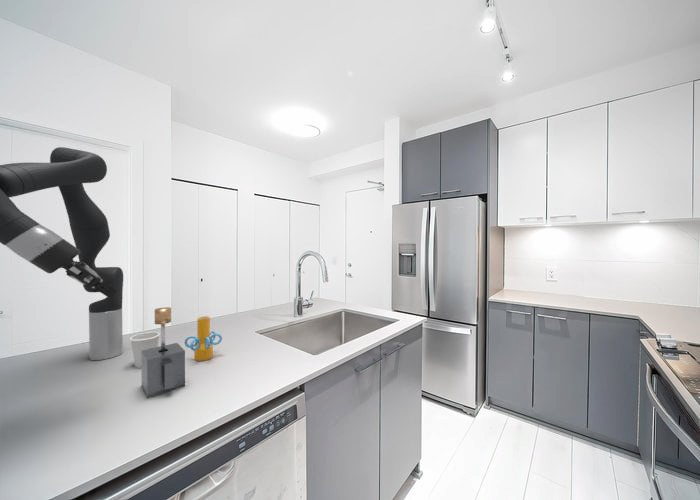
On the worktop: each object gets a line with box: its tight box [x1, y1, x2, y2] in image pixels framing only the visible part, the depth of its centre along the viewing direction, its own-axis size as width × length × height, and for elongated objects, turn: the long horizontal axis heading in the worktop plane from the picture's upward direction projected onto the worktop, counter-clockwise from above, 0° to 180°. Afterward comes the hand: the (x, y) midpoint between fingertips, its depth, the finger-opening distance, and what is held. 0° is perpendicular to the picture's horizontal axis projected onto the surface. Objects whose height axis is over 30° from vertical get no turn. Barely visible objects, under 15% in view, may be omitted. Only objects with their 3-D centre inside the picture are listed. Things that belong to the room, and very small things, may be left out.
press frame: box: [141, 342, 186, 400], centre depth 78 cm, size 12×9×11 cm
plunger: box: [154, 306, 172, 352], centre depth 78 cm, size 7×7×15 cm
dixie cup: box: [129, 331, 161, 369], centre depth 93 cm, size 8×8×10 cm
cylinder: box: [184, 315, 223, 362], centre depth 98 cm, size 12×10×15 cm
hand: (111, 292), depth 70 cm, fingers open, 8 cm apart
